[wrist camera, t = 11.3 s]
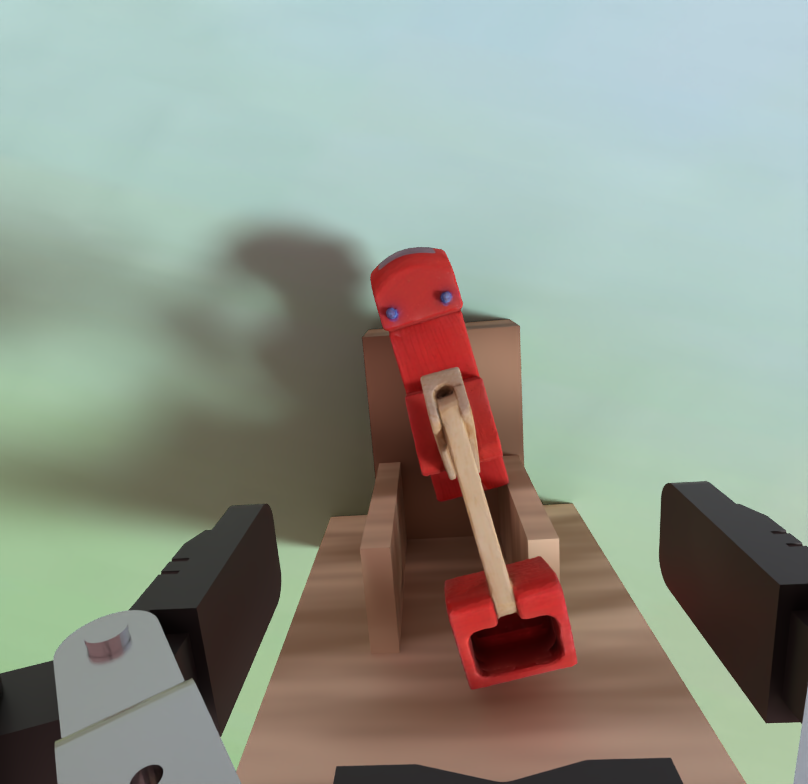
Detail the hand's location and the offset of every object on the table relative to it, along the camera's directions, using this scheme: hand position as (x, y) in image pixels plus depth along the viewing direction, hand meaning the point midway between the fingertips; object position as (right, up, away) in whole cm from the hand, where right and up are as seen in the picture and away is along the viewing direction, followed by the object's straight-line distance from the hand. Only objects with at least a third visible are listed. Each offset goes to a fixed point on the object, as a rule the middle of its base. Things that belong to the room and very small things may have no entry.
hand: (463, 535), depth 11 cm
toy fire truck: (+1, +2, +13) cm, 13 cm away
